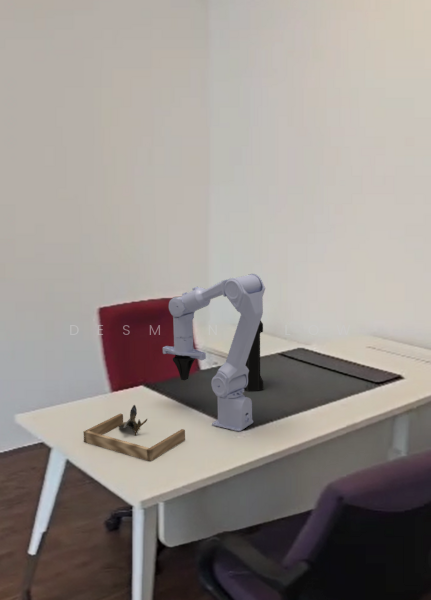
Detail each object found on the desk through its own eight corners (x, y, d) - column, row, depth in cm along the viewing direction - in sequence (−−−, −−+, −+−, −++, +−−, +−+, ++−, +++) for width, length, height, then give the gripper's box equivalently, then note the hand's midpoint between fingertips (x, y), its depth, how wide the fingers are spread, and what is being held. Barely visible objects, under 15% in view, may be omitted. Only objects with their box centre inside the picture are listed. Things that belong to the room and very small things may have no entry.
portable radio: (242, 383, 223) (241, 311, 218) (259, 382, 223) (259, 310, 218) (245, 391, 215) (244, 317, 210) (263, 390, 216) (263, 316, 210)
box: (185, 440, 179) (184, 429, 178) (150, 461, 166) (150, 450, 166) (120, 423, 191) (120, 413, 190) (84, 441, 179) (83, 431, 178)
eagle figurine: (154, 427, 184) (141, 412, 192) (142, 412, 180) (129, 396, 188) (132, 445, 183) (120, 429, 190) (120, 430, 179) (108, 414, 186)
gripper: (211, 335, 196) (211, 379, 199) (171, 329, 204) (173, 371, 207) (197, 341, 190) (198, 386, 193) (157, 335, 198) (159, 378, 201)
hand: (184, 379), depth 199 cm, fingers closed
